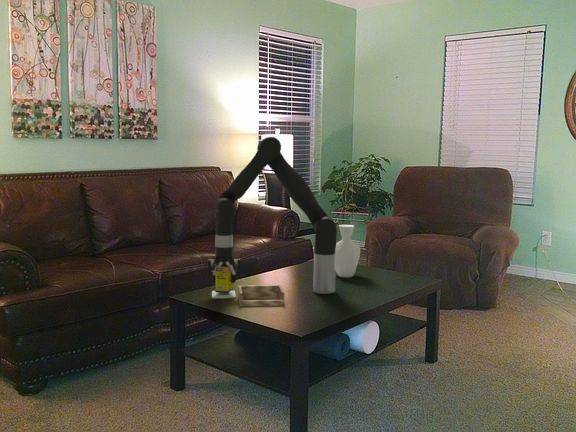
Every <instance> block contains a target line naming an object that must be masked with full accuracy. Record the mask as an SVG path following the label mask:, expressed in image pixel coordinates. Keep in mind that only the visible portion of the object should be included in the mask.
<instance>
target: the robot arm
mask: <svg viewBox="0 0 576 432" xmlns="http://www.w3.org/2000/svg"><path fill="white" fill-rule="evenodd" d="M256 149H257V151H256V153H255V154H254V156H253V157H252V159H251V160H250V161H249V163H248V164H247V165H246V166H245V167H244V168H243V169H242V170H241V171H240V172H239V173H238V175H237V176H236V177H235V179H234V180H233V181H232V182H231V183H230V184H229V186H228V187H227V188H226V190H224V191H223V192H222V193H221V194H220V195H219V196H218V197H217V199H216V200H215V202H214V205H213V206H214V207H213V208H214V210H215V212H216V213H217V221H216V223H215V239H214V253H215V254H214V259H210V258H209V259H207V269H208V270H207V271H208V274H209V275H212V283H214V285H216V267H230V271H231V272H232V285H233V284H234V283H236V281H237V280H236V275H238V274H240V272H241V258H234V238H233V222H234V217H235V203H236V202H237V200H239V199H241V198H242V197H244V195H246V192H248V190H249V189H250V187H251V186H252V184H254V182H255V181H256V179H257V178H258V176H260V174H261V173H262V171H263V170H264V169H265V167H266V166H268V167H269V168H270V170H272V171H273V173H274V175H275V176H276V178H277V180H278V181H279V183H280V185H281V186H282V187H283V188H284V190H285V192H286V193H287V194H288V196H289V197H290V198H291V200H292V201H293V202H294V203H295V205H296V206H297V207H298V208H299V209H300V210H301V211H302V212H303V213H304V214H305V215H306V218H308V220H309V222H310V224H311V226H312V227H313V230H314V232H315V233H314V234H315V238H314V248H313V276H312V277H313V279H312V283H313V284H312V292H314V293H316V294H320V295H321V294H322V295H326V294H327V295H328V294H333V293H334V294H335V293H336V277H337V272H336V271H335V249H336V244H337V233H338V230H337V229H338V228H337V224H336V222H335V220H334V219H332V218H331V217H330V216H329V214H327V213H326V211H324V209H323V208H322V207H321V205H320V204H319V203H318V200H317V199H316V196H315V194H314V193H313V191H312V189H311V188H310V186H309V185H308V183H307V182H306V181H305V179H304V177H303V176H302V175H301V174H300V173H299V172H298V171H297V170H296V169H295V168H294V167H292V165H290V164H289V162H287V160H286V158H285V157H284V155H283V154H282V153H281V150H282V144H281V142H280V140H279V139H278V138H276V137H275V136H268V137H264V138H262V139H261V140H260V141H259V142H258V144H257V148H256ZM213 263H214V264H215V265H216V266H215V267H214V270H212V266H213ZM233 264H235V265H236V270H235V269H234V267H231V265H233Z"/></svg>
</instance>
